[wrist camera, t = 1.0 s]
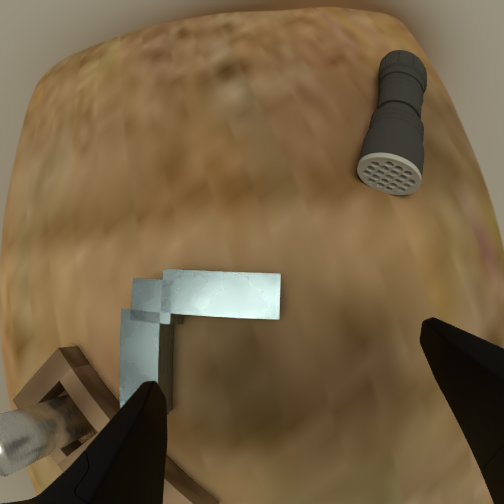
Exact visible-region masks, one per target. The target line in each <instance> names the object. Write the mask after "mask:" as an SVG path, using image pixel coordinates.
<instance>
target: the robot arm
mask: <svg viewBox="0 0 504 504" xmlns="http://www.w3.org/2000/svg"><path fill="white" fill-rule="evenodd" d="M420 344H421V347H422V349H423V351H424V354H425V356H426V358H427V361H428V363H429V365H430V368H431V370H432V373H433V375H434V377H435V379H436V381H437V383H438V385H439V387H440V389H441V391H442V393H443V394H444V396H445V398H446V400H447V402H448V404H449V406H450V408H451V410H452V411H453V413H454V415H455V417H456V419H457V421H458V423H459V425H460V427H461V429H462V431H463V433H464V435H465V438H466V440H467V442H468V444H469V446H470V448H471V450H472V452H473V455H474V457H475V459H476V461H477V464H478V466H479V468H480V470H481V473H482V475H483V478H484V480H485V482H486V485H487V487H488V490H489V492H490V495H491V497H492V500H493V503H494V504H504V349H503V348H501V347H499V346H497V345H495V344H492V343H490V342H488V341H486V340H484V339H481V338H479V337H477V336H475V335H473V334H470V333H468V332H466V331H464V330H461V329H459V328H457V327H455V326H452V325H450V324H448V323H446V322H443V321H441V320H439V319H437V318H434V317H432V318H429V319H426V320H424V321H423V322H422V327H421V334H420ZM166 451H167V401H166V397H165V395H164V393H163V391H162V390H161V388H160V387H159V385H158V383H157V382H156V381H145V382H143V383H142V384H141V385H140V386H139V388H138V389H137V390H136V391H135V392H134V393H133V395H132V396H131V397H130V398H129V399H128V400H127V401H126V403H125V404H124V405H123V406H122V407H121V408H120V410H119V411H118V412H117V413H116V414H115V415H114V416H113V418H112V419H111V420H110V421H109V422H108V423H107V425H106V426H105V427H104V428H103V429H102V430H101V431H100V433H99V434H98V435H97V436H96V437H95V438H94V440H93V441H92V442H91V443H90V444H89V445H88V446H87V448H86V450H84V451H83V452H82V453H81V454H80V456H79V457H78V458H77V459H76V460H75V461H74V462H73V463H72V464H71V465H70V466H69V467H68V468H67V469H66V470H65V471H64V472H63V473H62V474H61V475H60V476H59V477H58V478H57V479H56V480H55V481H54V482H53V483H52V484H51V485H49V486H48V487H47V488H46V489H45V490H44V491H43V492H42V493H41V494H39V495H38V496H36V497H34V498H32V499H29V500H24V501H18V502H10V503H2V504H163V493H164V478H165V464H166Z"/></svg>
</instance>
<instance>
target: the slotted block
mask: <svg viewBox="0 0 504 504" xmlns="http://www.w3.org/2000/svg"><path fill="white" fill-rule="evenodd" d="M65 389H66V391H67V392H68V394H69V395H70V397H71V398H72V399H73V401H74V402H75V404H76V405H77V406H78V408H79V409H80V410H81V412H82V413H83V414H84V416H85V417H86V418H87V420H88V421H89V422H90V423H91V425H92V426H93V427H94V428H95V430H96V431H97V432H98V433H96V434H95V435H94V436H93V437H91V438H90V439H89V440H88V441H86V442H85V443H84V444H83V445H81V444H80V442H79V441H78V440H76V441H74V442H72V443H71V444H69V445H67V446H65V447H63V448H61V449H59V450H58V451H56V452H54V453H52V454H50V456H51V457H52V458H53V460H54V461H55V462H56V463H57V465H58V466H59V467H60V468H61V470H62V471H63V472H64V471H65V470H66V469H67V468H68V467H69V466H70V465H71V464H72V463H73V462H74V461H75V460H76V459H77V458H78V457H79V456H80V454H81V453H82V452H83V451H84V450H86V448H87V446H88V445H89V444H90V443H91V442H92V441H93V440H94V438H95V437H96V436H97V435H98V434H99V433H100V431H101V430H102V429H103V428H104V427H105V426H106V425H107V423H108V422H109V421H110V420H111V419H112V418H113V416H114V415H115V414H116V413H117V412H118V411H119V410H120V403H119V402H118V401H117V399H116V398H115V397H114V396H113V394H112V393H111V392H110V391H109V389H108V388H107V387H106V385H105V384H104V383H103V381H102V380H101V379H100V377H99V376H98V375H97V373H96V372H95V371H94V369H93V368H92V366H91V365H90V364H89V362H88V361H87V359H86V358H85V356H84V355H83V353H82V352H81V350H80V349H79V347H78V346H75V347H64V348H58V349H57V350H56V351H55V352H54V353H53V354H52V356H51V357H50V358H49V359H48V360H47V361H46V362H45V363H44V364H43V366H42V367H41V368H40V369H39V370H38V371H37V372H36V373H35V375H34V376H33V377H32V378H31V379H30V380H29V382H28V383H27V384H26V385H25V386H24V387H23V389H22V390H21V391H20V392H19V393H18V394H17V396H16V397H15V398H14V399H13V401H14V403H15V404H16V406H17V408H18V409H20V408H23V407H27V406H31V405H34V404H38V403H41V402H44V401H48V400H51V399H55V398H57V397H58V396H59V395H60V394H61V393H62V392H63V391H64V390H65ZM163 504H219V502H218V501H217V500H215V499H214V498H213V497H212V496H210V495H209V494H208V493H207V492H206V491H205V490H203V489H202V488H201V487H200V486H199V485H198V484H196V483H195V482H194V481H193V480H192V479H191V478H190V477H189V476H188V475H187V474H185V473H184V472H183V471H182V470H181V469H180V468H179V467H178V466H177V465H176V464H175V463H174V462H173V461H172V460H171V459H170V458H169V457H168V456H167V455H166V464H165V478H164V493H163Z"/></svg>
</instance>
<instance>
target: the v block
mask: <svg viewBox="0 0 504 504" xmlns="http://www.w3.org/2000/svg"><path fill="white" fill-rule="evenodd" d="M280 281H281V274H274V273H245V272H219V271H196V270H174V269H163V280H158V279H142V278H133V287H132V300H131V310H130V309H122V311H121V330H120V370H119V380H120V408H121V407H122V406H123V405H124V404H125V403H126V401H127V400H128V399H129V398H130V397H131V396H132V395H133V393H134V392H135V391H136V390H137V389H138V388H139V386H140V385H141V384H142V383H143V382H145V381H156V382H157V383H158V385H159V387H160V388H161V390H162V391H163V393H164V395H165V397H166V401H167V414H168V413H169V412H170V411H171V410H172V368H173V338H174V324H183V319H184V314H185V315H199V316H215V317H232V318H254V319H279V311H280Z"/></svg>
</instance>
